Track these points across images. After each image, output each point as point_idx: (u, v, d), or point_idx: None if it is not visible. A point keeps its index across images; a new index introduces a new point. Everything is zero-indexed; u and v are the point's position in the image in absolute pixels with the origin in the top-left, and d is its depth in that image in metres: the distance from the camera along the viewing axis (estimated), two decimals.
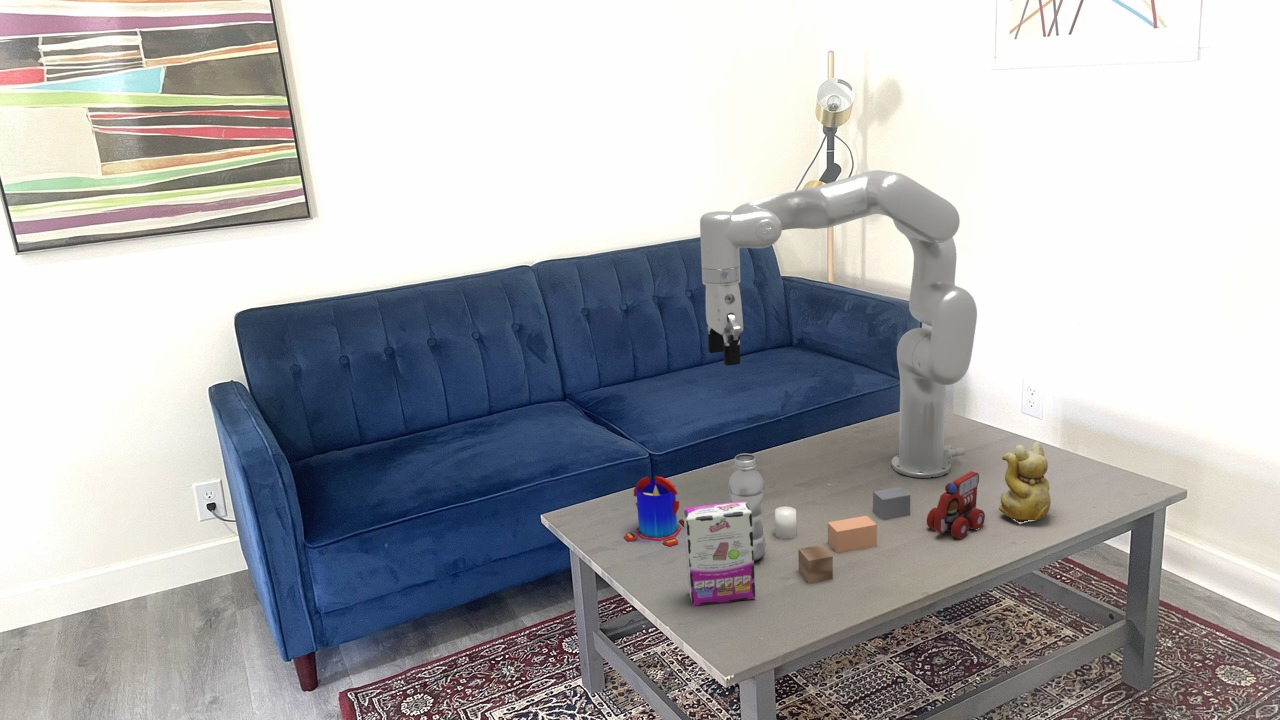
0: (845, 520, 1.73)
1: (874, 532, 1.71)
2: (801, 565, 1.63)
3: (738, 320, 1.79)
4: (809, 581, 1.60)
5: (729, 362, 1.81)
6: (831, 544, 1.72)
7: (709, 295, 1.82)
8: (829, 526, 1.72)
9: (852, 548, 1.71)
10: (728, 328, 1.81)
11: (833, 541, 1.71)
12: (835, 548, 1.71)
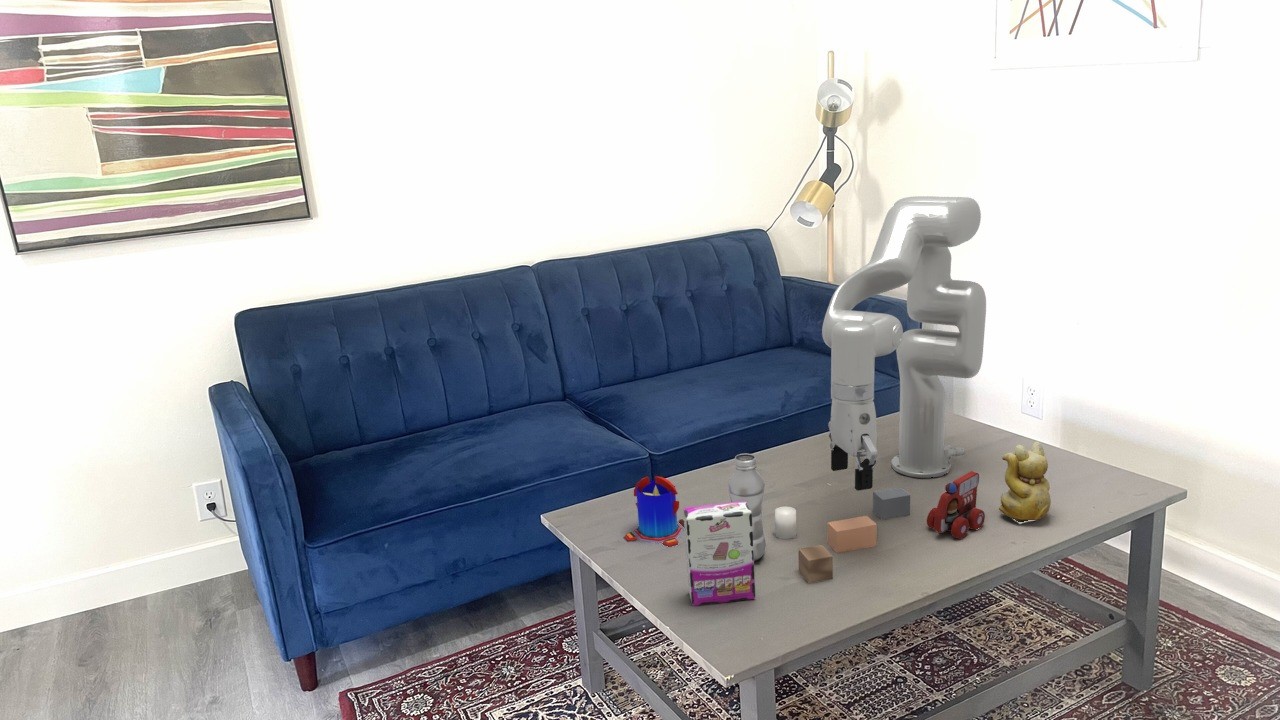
0: (845, 520, 1.73)
1: (874, 532, 1.71)
2: (801, 565, 1.63)
3: (872, 441, 1.62)
4: (809, 581, 1.60)
5: (861, 487, 1.63)
6: (831, 544, 1.72)
7: (838, 412, 1.65)
8: (829, 526, 1.72)
9: (852, 548, 1.71)
10: (860, 449, 1.64)
11: (833, 541, 1.71)
12: (835, 548, 1.71)
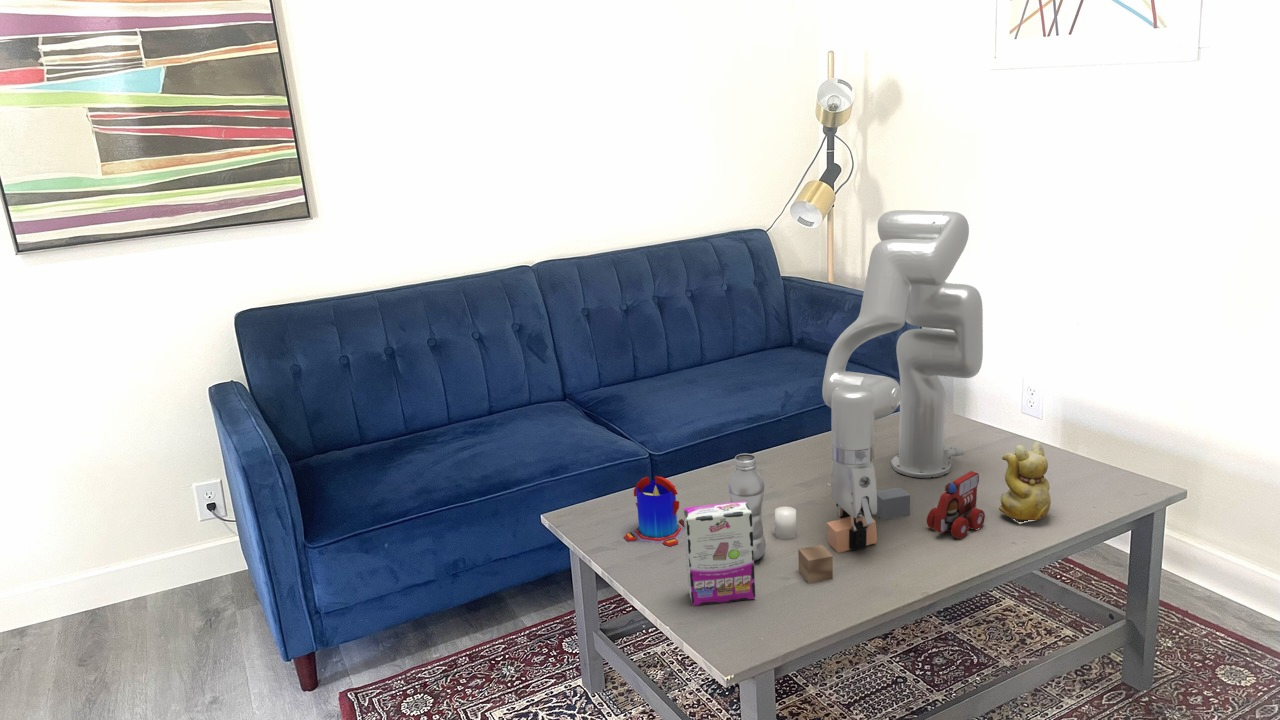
0: (844, 519, 1.73)
1: (873, 529, 1.71)
2: (801, 565, 1.63)
3: (873, 503, 1.66)
4: (809, 581, 1.60)
5: (855, 546, 1.70)
6: (832, 544, 1.72)
7: (839, 473, 1.68)
8: (828, 526, 1.72)
9: None
10: (860, 510, 1.68)
11: (833, 541, 1.71)
12: (836, 548, 1.71)
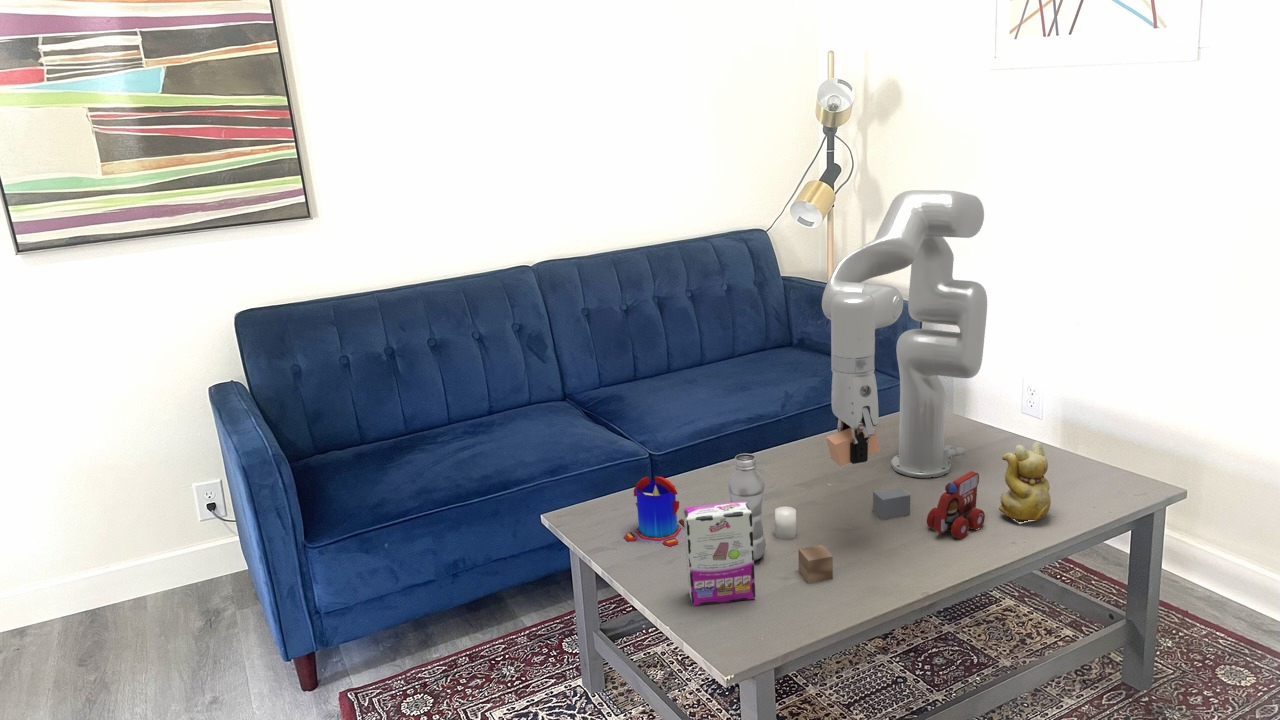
0: (843, 431, 1.68)
1: (874, 437, 1.66)
2: (801, 565, 1.63)
3: (874, 413, 1.61)
4: (809, 581, 1.60)
5: (856, 460, 1.66)
6: (834, 458, 1.68)
7: (839, 384, 1.64)
8: (828, 440, 1.68)
9: None
10: (861, 421, 1.63)
11: (835, 455, 1.67)
12: (838, 461, 1.66)
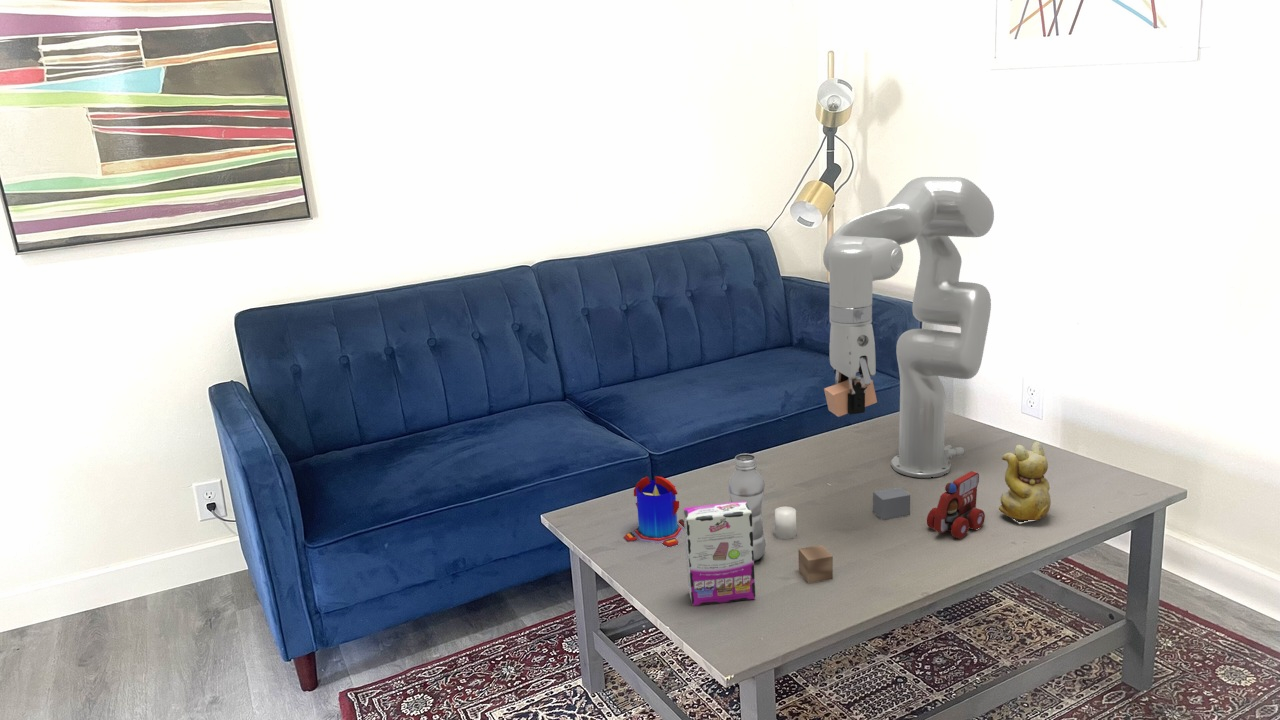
0: (841, 383, 1.71)
1: (872, 388, 1.69)
2: (801, 565, 1.63)
3: (871, 363, 1.64)
4: (809, 581, 1.60)
5: (853, 411, 1.68)
6: (831, 409, 1.70)
7: (837, 335, 1.66)
8: (826, 392, 1.70)
9: None
10: (858, 371, 1.66)
11: (832, 405, 1.69)
12: (835, 412, 1.69)
